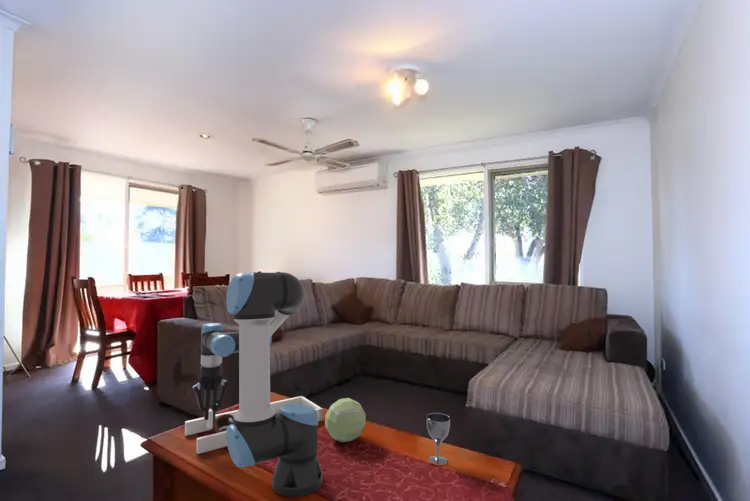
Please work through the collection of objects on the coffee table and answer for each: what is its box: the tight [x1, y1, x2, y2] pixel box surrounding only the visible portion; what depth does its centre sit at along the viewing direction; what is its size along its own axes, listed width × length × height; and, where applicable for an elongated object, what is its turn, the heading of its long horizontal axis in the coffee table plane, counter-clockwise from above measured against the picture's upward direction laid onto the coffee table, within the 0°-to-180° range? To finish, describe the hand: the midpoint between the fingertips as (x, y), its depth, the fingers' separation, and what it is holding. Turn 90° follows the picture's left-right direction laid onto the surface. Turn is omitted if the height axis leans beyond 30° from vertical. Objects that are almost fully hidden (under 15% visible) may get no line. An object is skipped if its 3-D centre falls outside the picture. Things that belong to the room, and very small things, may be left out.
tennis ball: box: [324, 397, 367, 443], centre depth 153 cm, size 15×15×15 cm
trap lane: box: [184, 395, 324, 455], centre depth 163 cm, size 19×50×7 cm, turn 128°
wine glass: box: [426, 412, 451, 465], centre depth 138 cm, size 8×8×15 cm
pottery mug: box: [206, 414, 234, 433], centre depth 155 cm, size 12×10×8 cm
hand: (209, 427), depth 151 cm, fingers closed
